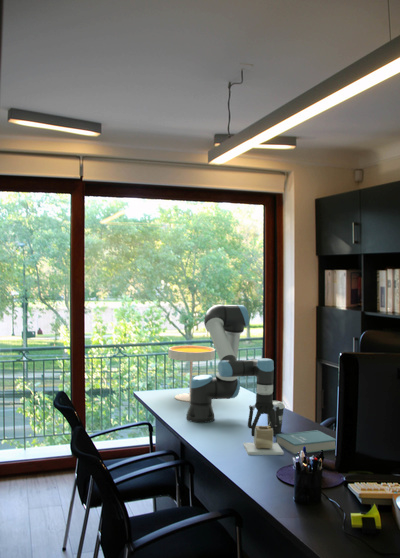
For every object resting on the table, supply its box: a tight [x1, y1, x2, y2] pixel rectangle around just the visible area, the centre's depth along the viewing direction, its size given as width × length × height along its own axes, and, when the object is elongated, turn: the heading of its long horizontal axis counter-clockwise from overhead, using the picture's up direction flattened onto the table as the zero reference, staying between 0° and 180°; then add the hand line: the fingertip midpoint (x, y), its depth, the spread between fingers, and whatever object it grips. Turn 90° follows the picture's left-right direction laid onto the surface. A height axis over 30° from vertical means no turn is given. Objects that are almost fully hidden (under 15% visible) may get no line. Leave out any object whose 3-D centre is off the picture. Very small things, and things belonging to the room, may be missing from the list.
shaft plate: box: [242, 442, 285, 456], centre depth 244 cm, size 16×13×6 cm
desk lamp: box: [167, 345, 216, 403], centre depth 338 cm, size 30×30×31 cm
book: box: [275, 429, 337, 455], centre depth 251 cm, size 23×16×5 cm
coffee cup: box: [266, 400, 286, 435], centre depth 271 cm, size 10×10×15 cm
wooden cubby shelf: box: [255, 425, 274, 448], centre depth 244 cm, size 7×7×9 cm
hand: (263, 443), depth 244 cm, fingers closed on wooden cubby shelf, 7 cm apart
